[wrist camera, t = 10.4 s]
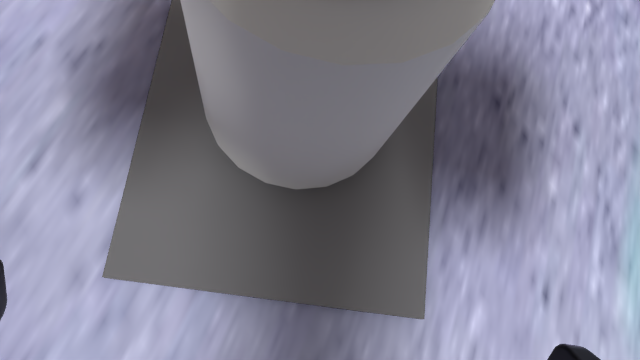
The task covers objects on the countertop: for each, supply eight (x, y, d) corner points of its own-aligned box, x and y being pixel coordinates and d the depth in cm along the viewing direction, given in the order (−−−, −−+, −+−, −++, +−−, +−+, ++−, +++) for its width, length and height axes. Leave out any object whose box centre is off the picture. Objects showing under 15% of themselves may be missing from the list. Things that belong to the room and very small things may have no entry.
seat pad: (420, 319, 19) (424, 319, 18) (105, 277, 17) (102, 277, 17) (438, 15, 23) (441, 10, 22) (183, -36, 21) (182, -42, 21)
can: (166, 116, 19) (39, -188, 7) (283, -1, 21) (325, -374, 10) (313, 233, 18) (418, 102, 7) (417, 100, 21) (625, -162, 9)
